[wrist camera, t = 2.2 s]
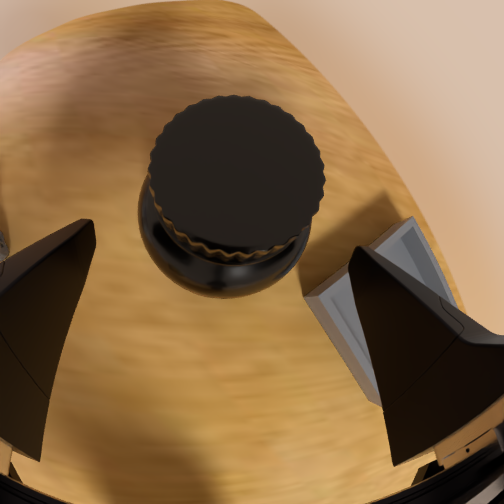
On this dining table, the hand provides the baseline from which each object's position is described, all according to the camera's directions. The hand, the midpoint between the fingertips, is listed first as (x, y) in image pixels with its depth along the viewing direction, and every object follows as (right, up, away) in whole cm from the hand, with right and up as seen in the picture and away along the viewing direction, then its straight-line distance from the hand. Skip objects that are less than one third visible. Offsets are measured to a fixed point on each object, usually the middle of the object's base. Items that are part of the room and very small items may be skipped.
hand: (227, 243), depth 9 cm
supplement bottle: (-2, 0, +10) cm, 10 cm away
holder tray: (+11, -5, +11) cm, 17 cm away
